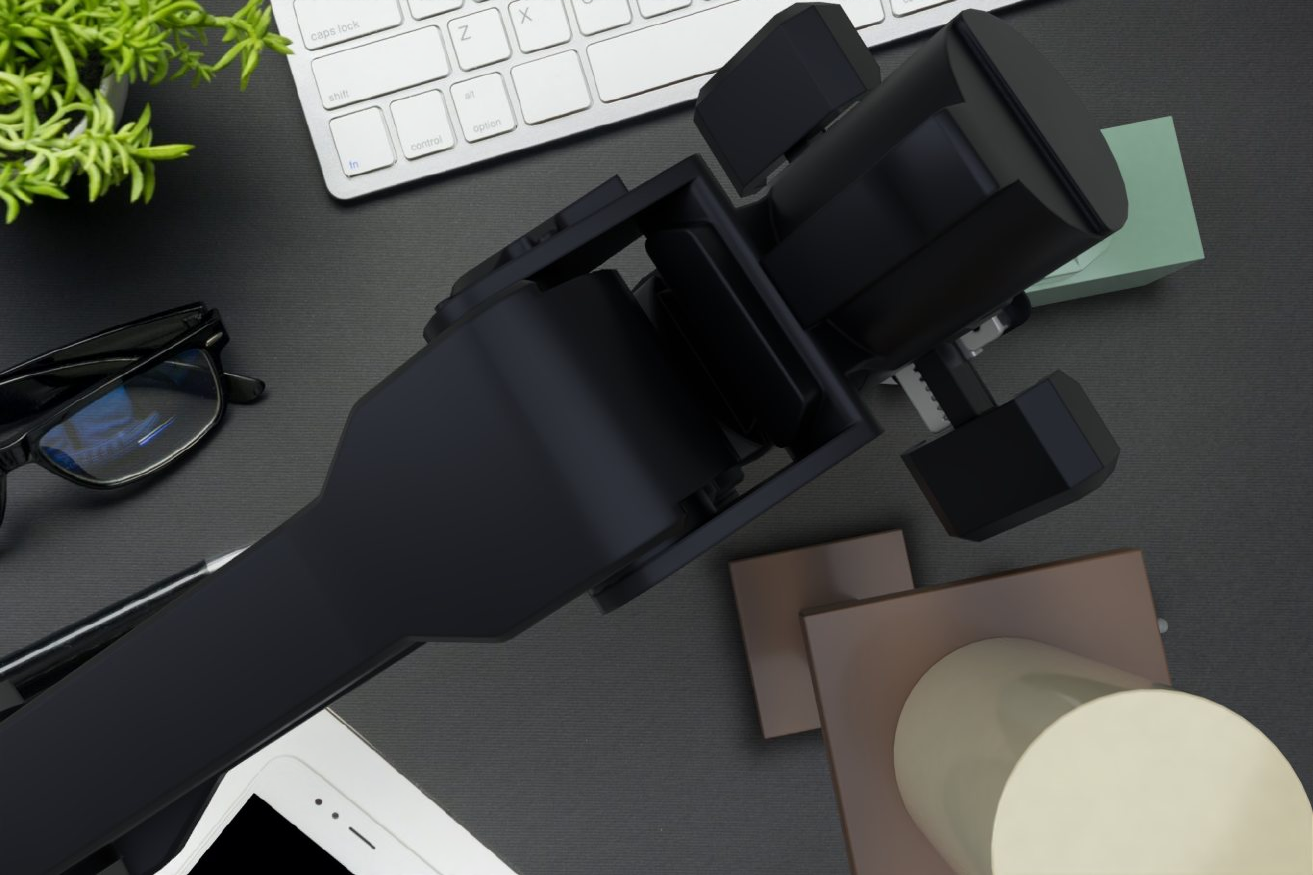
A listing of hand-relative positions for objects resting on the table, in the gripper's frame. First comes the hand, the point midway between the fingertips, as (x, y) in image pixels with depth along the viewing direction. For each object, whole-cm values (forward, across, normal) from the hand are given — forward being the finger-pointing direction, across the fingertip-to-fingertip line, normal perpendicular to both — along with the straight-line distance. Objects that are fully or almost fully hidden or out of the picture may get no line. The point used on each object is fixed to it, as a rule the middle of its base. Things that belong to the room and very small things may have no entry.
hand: (985, 234), depth 43 cm
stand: (+1, -13, +18) cm, 22 cm away
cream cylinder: (-19, -13, -1) cm, 23 cm away
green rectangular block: (+15, -1, +4) cm, 15 cm away
